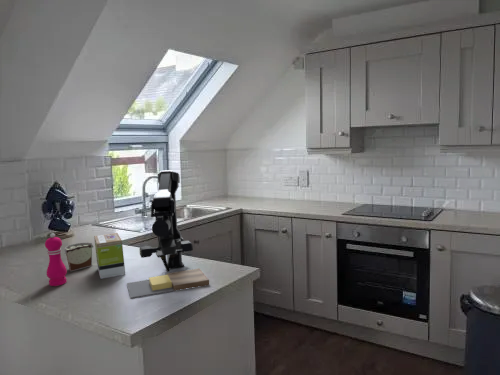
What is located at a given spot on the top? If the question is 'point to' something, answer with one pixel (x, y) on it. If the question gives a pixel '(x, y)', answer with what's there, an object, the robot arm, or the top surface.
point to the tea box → (109, 255)
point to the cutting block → (188, 279)
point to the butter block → (160, 282)
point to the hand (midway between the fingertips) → (168, 271)
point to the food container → (79, 255)
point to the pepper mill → (55, 261)
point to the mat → (144, 289)
